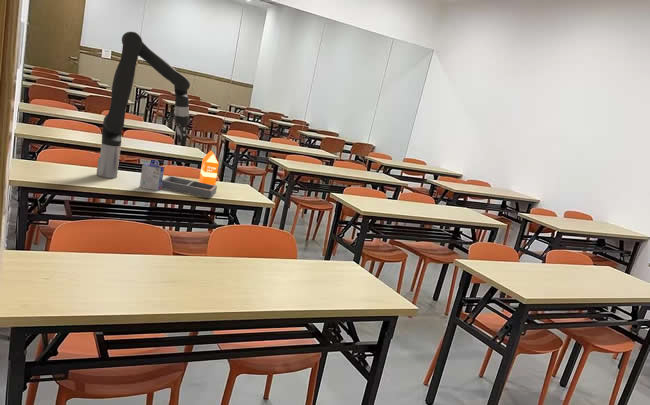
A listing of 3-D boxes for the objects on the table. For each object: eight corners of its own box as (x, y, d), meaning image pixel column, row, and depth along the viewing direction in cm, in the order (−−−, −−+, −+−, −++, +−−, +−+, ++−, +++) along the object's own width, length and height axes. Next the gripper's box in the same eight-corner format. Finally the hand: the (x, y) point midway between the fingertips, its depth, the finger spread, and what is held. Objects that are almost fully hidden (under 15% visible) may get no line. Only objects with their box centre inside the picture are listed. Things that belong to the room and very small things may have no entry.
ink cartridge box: (161, 189, 256) (165, 162, 253) (157, 191, 251) (161, 164, 247) (143, 185, 256) (146, 158, 253) (139, 187, 250) (142, 160, 247)
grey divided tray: (160, 187, 258) (161, 180, 257) (168, 182, 272) (169, 175, 271) (210, 198, 260) (211, 190, 259) (215, 192, 273) (217, 185, 272)
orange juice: (211, 183, 291) (217, 151, 287) (214, 187, 284) (220, 154, 279) (198, 182, 288) (203, 149, 283) (201, 186, 280) (207, 152, 275)
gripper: (172, 112, 270) (172, 141, 274) (177, 116, 258) (177, 146, 262) (186, 113, 273) (185, 141, 278) (191, 116, 261) (191, 146, 266)
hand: (181, 144), depth 270 cm, fingers open, 8 cm apart
